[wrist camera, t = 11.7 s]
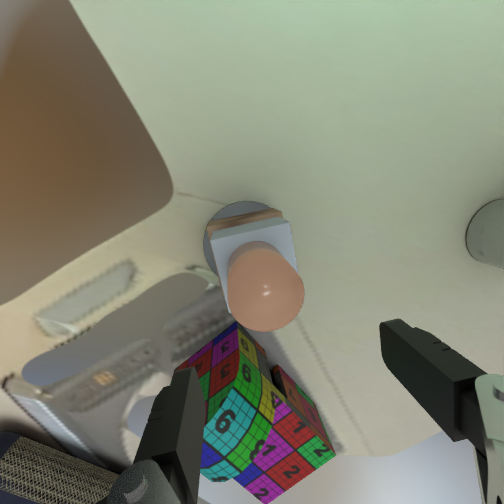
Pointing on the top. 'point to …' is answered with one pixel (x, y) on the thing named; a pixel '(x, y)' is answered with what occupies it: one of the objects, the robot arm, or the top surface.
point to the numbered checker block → (255, 418)
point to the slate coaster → (227, 212)
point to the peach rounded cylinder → (262, 287)
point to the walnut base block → (240, 223)
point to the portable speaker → (48, 474)
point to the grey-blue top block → (263, 230)
